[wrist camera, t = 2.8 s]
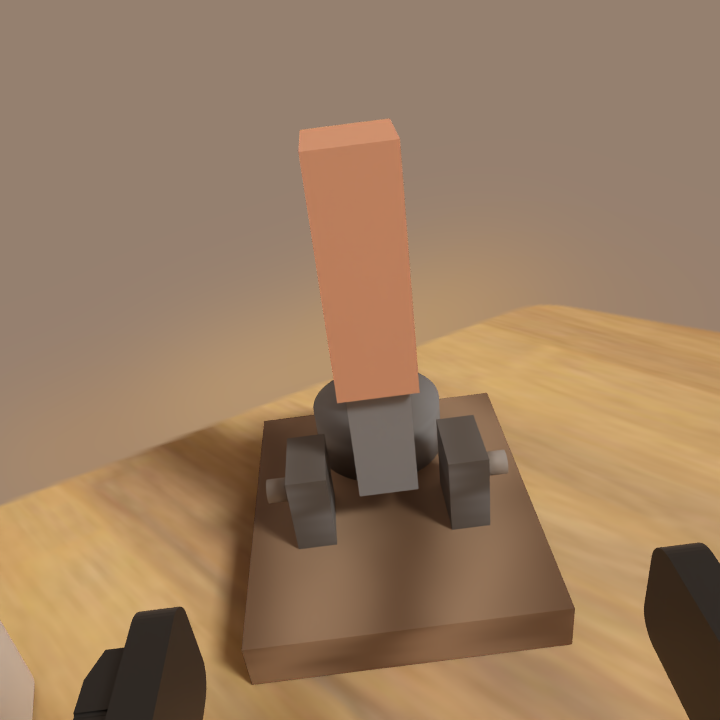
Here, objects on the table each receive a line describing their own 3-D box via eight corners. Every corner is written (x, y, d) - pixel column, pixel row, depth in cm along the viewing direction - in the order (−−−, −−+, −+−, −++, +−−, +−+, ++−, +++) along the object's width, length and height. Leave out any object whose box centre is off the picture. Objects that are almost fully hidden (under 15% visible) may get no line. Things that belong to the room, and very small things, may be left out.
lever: (353, 506, 27) (298, 151, 20) (349, 458, 30) (299, 130, 22) (427, 496, 27) (399, 138, 20) (417, 449, 30) (389, 118, 22)
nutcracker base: (252, 684, 25) (205, 535, 21) (270, 450, 37) (243, 327, 33) (572, 644, 25) (584, 487, 21) (487, 423, 37) (485, 296, 33)
